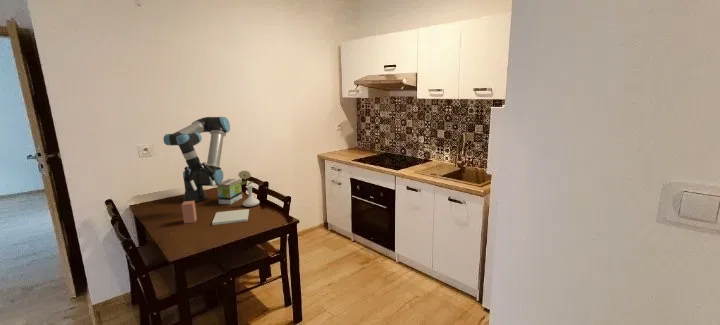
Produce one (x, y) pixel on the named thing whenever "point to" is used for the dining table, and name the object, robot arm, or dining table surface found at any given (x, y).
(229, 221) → the grey board
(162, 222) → the dining table surface
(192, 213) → the brick block
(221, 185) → the tea box
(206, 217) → the dining table surface
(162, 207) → the dining table surface
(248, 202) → the flower in vase
